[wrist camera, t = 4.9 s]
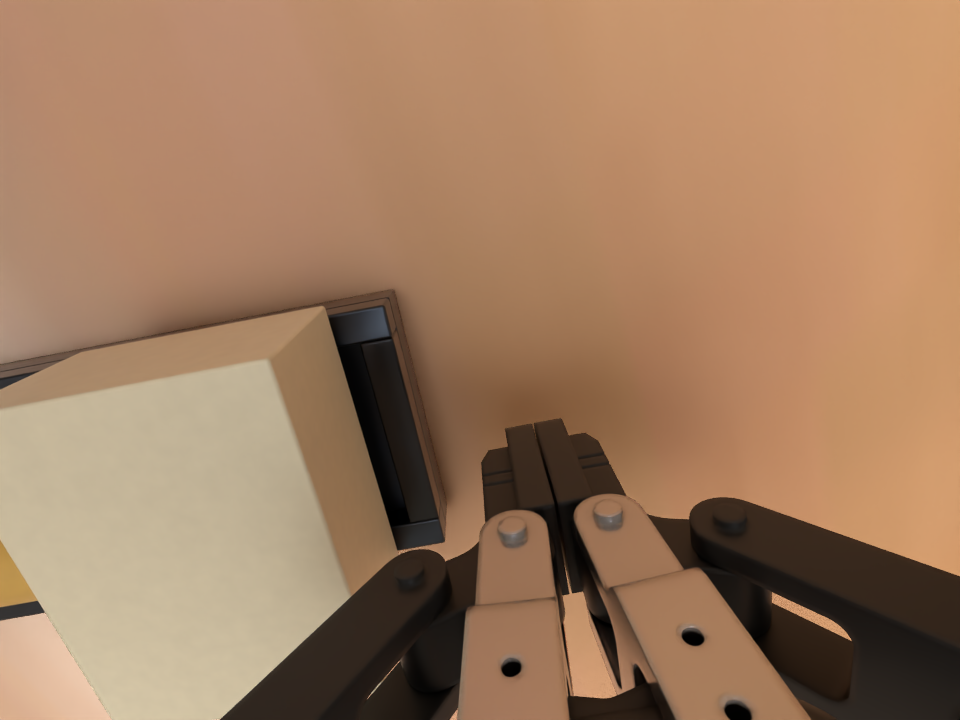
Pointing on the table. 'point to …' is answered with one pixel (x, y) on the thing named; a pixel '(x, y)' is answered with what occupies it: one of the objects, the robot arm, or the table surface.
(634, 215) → the table surface
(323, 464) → the nozzle carriage
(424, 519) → the rail
